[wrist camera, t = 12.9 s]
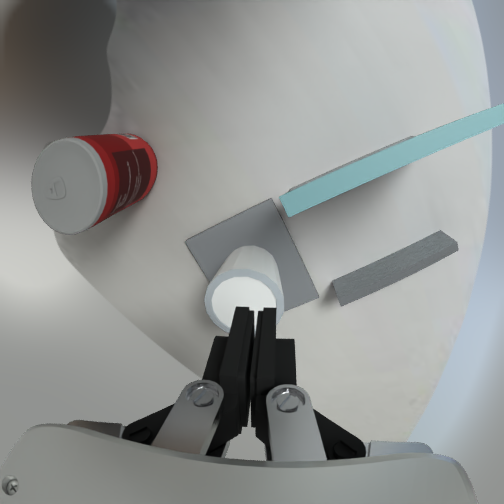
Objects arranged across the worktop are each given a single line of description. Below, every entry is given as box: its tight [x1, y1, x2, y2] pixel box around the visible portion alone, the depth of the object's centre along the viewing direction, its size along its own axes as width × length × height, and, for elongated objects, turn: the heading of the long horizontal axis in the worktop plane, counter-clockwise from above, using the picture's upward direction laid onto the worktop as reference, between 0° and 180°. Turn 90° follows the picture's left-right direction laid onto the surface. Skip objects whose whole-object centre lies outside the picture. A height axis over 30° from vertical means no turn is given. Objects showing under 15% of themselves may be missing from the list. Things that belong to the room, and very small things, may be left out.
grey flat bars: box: [290, 136, 458, 306], centre depth 26 cm, size 12×14×4 cm
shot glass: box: [204, 246, 284, 333], centre depth 28 cm, size 7×7×7 cm
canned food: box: [32, 134, 158, 235], centre depth 23 cm, size 8×8×11 cm
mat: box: [185, 198, 319, 311], centre depth 31 cm, size 12×10×1 cm
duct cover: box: [279, 104, 504, 217], centre depth 17 cm, size 12×14×1 cm
